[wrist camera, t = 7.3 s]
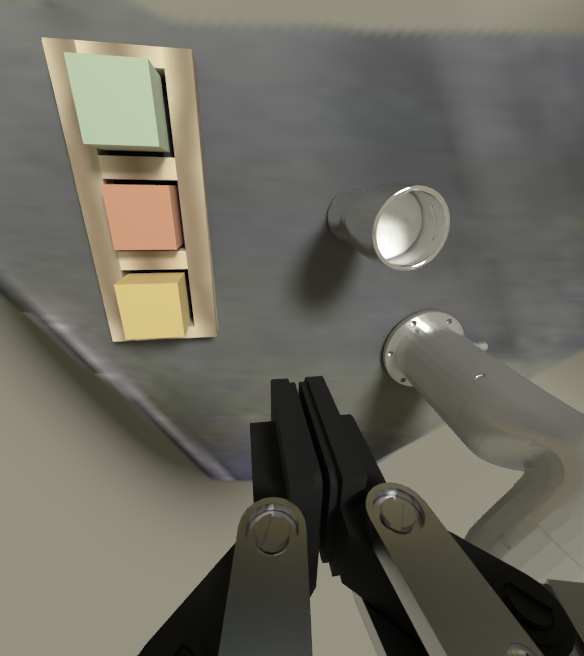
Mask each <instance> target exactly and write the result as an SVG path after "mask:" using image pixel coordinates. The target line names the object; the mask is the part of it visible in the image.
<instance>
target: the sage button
mask: <svg viewBox="0 0 584 656" xmlns="http://www.w3.org/2000/svg"><path fill="white" fill-rule="evenodd" d="M63 53H64V57H65V62H66V66H67V71H68V76H69V80H70V85H71V90H72V94H73V99H74V103H75V108H76V113H77V117H78V122H79V126H80V131H81V136H82V140H83V144H85V145H89V146H92V147H96V148H99V149H103V150H120V151H149V152H170V150H169V142H168V133H167V125H166V117H165V109H164V101H163V92H162V84H161V77H160V75H159V74H158V72H157V71H156V70H155V68H154V67H153V65H152V64H151V62H150V61H149V59H148V58H137V57H124V56H110V55H97V54H84V53H71V52H63Z"/></svg>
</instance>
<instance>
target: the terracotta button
mask: <svg viewBox="0 0 584 656" xmlns="http://www.w3.org/2000/svg"><path fill="white" fill-rule="evenodd" d="M101 188H102V192H103V197H104V202H105V207H106V212H107V217H108V221H109V226H110V231H111V236H112V241H113V246H114V250H177V249H178V248H179V247H180V246H181V245H182V244H183V243H184V239H183V231H182V222H181V214H180V205H179V197H178V188H177V186H171V185H123V184H101Z"/></svg>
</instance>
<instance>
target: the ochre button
mask: <svg viewBox="0 0 584 656" xmlns="http://www.w3.org/2000/svg"><path fill="white" fill-rule="evenodd" d="M114 288H115V293H116V297H117V302H118V307H119V311H120V316H121V320H122V325H123V330H124V334H125V339H126V340H134V339H154V338H175V337H185V335H186V332H187V329H188V327H189V324H190V314H189V306H188V297H187V289H186V281H185V273H184V272H183V273H134V274H127V275H126V276H125V277H123V278H122V279H121V280H119V281H118V282H117V283H115V284H114Z"/></svg>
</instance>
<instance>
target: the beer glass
mask: <svg viewBox="0 0 584 656" xmlns="http://www.w3.org/2000/svg"><path fill="white" fill-rule="evenodd" d="M327 220H328V225H329V228H330V230H331V232H332V233H333V234H334V236H336V237H337V238H338V239H340V240H343V241H347V242H350V243H351V244H352V246H353V247H354V248H355V249H356V250H357V251H358V252H359V253H360V254H362V255H363V256H365V257H366V258H368V259H369V260H371V261H374V262H376V263H378V264H381V265H384V266H387V267H390V268H392V269H395V270H400V271H409V270H414V269H417V268H419V267H422V266H424V265H425V264H427V263H428V262H430V261H431V260H432V259H433V258H434V257H435V256H436V255H437V254H438V253H439V251H440V250H441V248H442V247H443V245H444V243H445V241H446V239H447V236H448V232H449V227H450V214H449V209H448V206H447V204H446V202H445V200H444V199H443V197H442V196H441V195H440V194H439V193H438V192H437V191H435V190H434V189H432V188H429V187H426V186H419V185H411V184H402V183H390V184H382V185H378V186H375V187H372V188H370V189H367V190H365V191H362V190H359V189H348V190H345V191H343V192H341V193H340V194H338V195H337V196H336V197H335V198H334V199H333V201H332V202H331V204H330V206H329V209H328V214H327Z"/></svg>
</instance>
